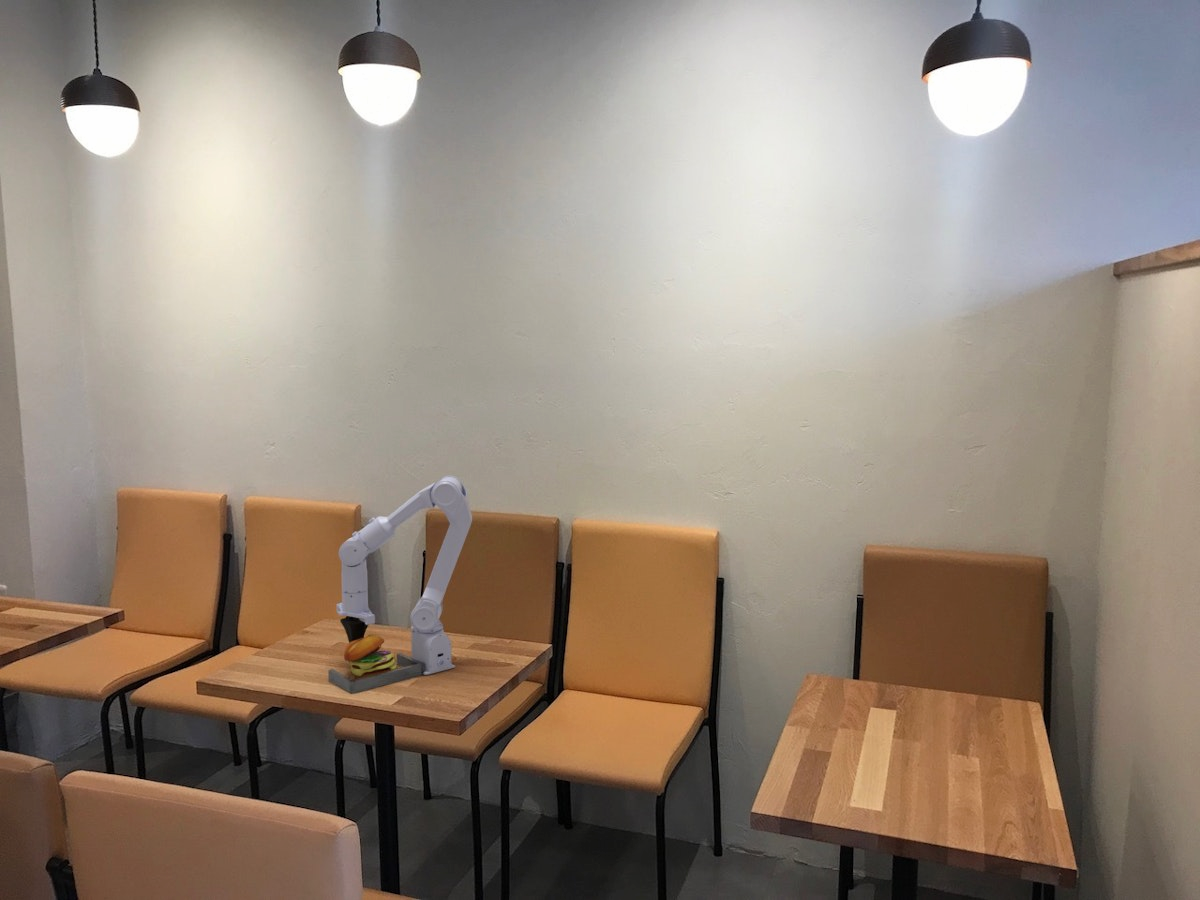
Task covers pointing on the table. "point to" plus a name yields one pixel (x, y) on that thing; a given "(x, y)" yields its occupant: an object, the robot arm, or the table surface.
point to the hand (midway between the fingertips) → (356, 648)
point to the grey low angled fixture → (379, 675)
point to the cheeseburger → (368, 657)
